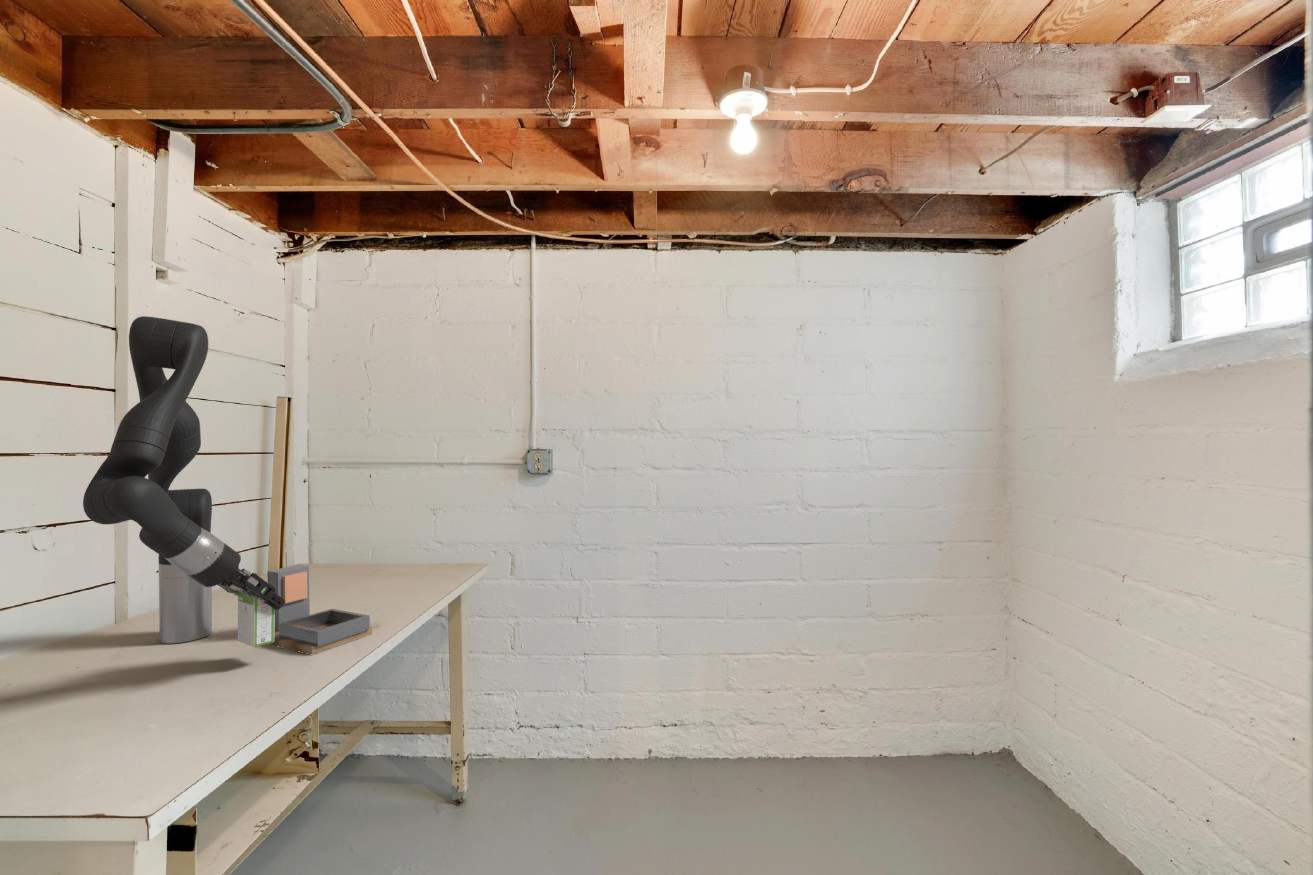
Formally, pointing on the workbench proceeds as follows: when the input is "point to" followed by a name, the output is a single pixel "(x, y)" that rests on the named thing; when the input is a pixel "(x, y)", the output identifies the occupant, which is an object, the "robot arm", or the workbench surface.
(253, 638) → the ink box
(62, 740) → the workbench surface
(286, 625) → the dark gray rectangular frame
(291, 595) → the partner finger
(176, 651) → the workbench surface
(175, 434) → the robot arm
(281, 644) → the walnut rail base
